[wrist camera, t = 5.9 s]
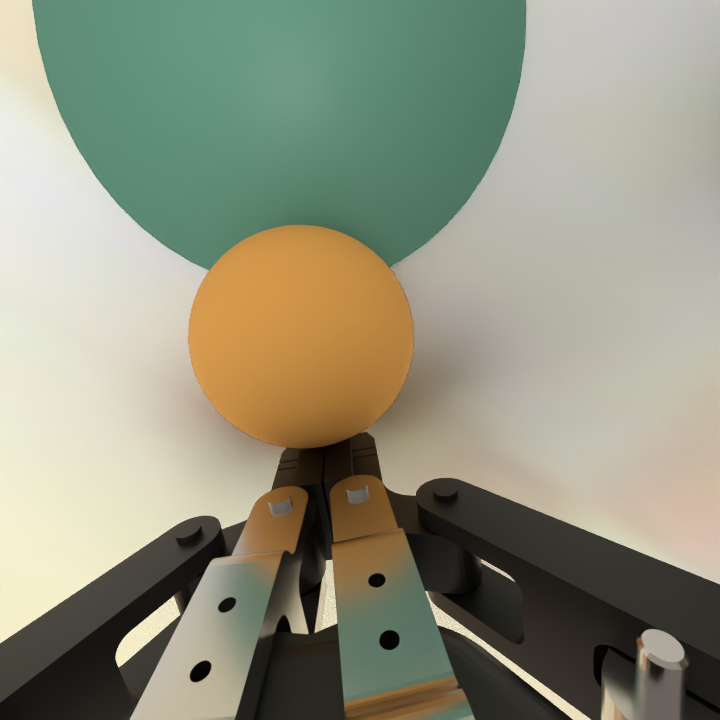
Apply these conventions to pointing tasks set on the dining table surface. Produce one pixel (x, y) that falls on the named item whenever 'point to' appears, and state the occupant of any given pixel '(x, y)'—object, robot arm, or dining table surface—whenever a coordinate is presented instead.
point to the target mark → (285, 111)
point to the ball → (301, 336)
